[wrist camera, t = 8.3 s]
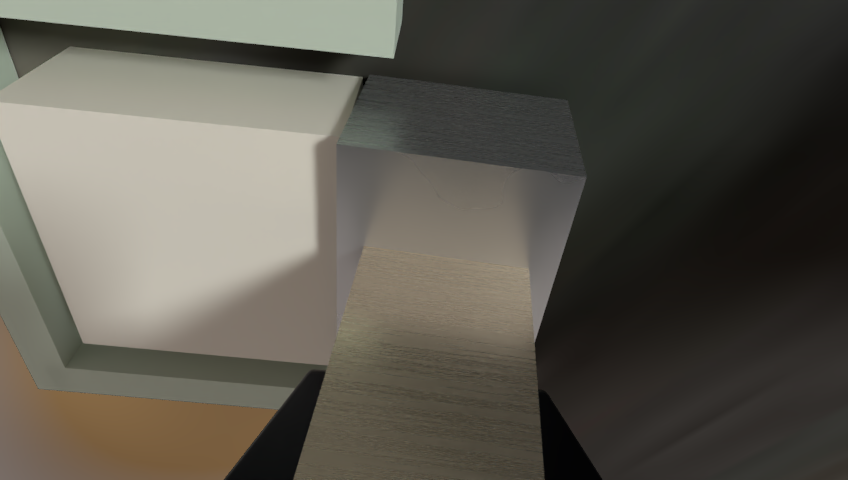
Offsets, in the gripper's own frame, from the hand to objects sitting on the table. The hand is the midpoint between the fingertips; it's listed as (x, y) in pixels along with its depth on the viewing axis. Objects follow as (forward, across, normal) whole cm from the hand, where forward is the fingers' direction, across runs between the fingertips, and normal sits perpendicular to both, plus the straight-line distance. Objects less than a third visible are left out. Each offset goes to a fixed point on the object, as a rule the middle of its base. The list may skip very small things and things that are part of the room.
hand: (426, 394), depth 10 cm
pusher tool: (+5, 0, 0) cm, 5 cm away
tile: (+6, +5, 0) cm, 7 cm away
